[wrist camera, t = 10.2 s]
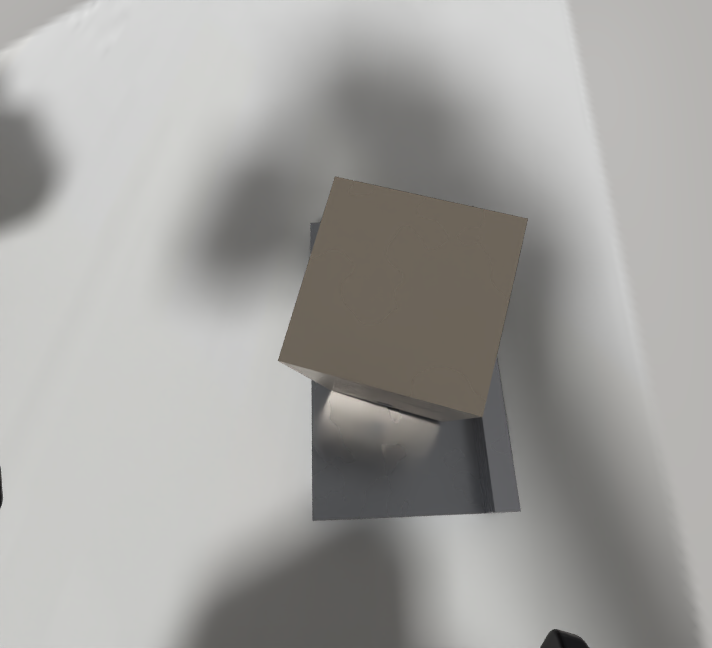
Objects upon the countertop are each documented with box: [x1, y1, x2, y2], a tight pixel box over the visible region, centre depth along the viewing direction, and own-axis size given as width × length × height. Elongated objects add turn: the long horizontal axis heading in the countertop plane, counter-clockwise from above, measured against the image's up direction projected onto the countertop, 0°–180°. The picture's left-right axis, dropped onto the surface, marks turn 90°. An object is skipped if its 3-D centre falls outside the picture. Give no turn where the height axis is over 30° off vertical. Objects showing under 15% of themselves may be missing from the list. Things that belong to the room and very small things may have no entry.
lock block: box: [278, 177, 528, 422], centre depth 17 cm, size 5×5×10 cm
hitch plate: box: [311, 206, 521, 521], centre depth 22 cm, size 14×8×2 cm, turn 2°
